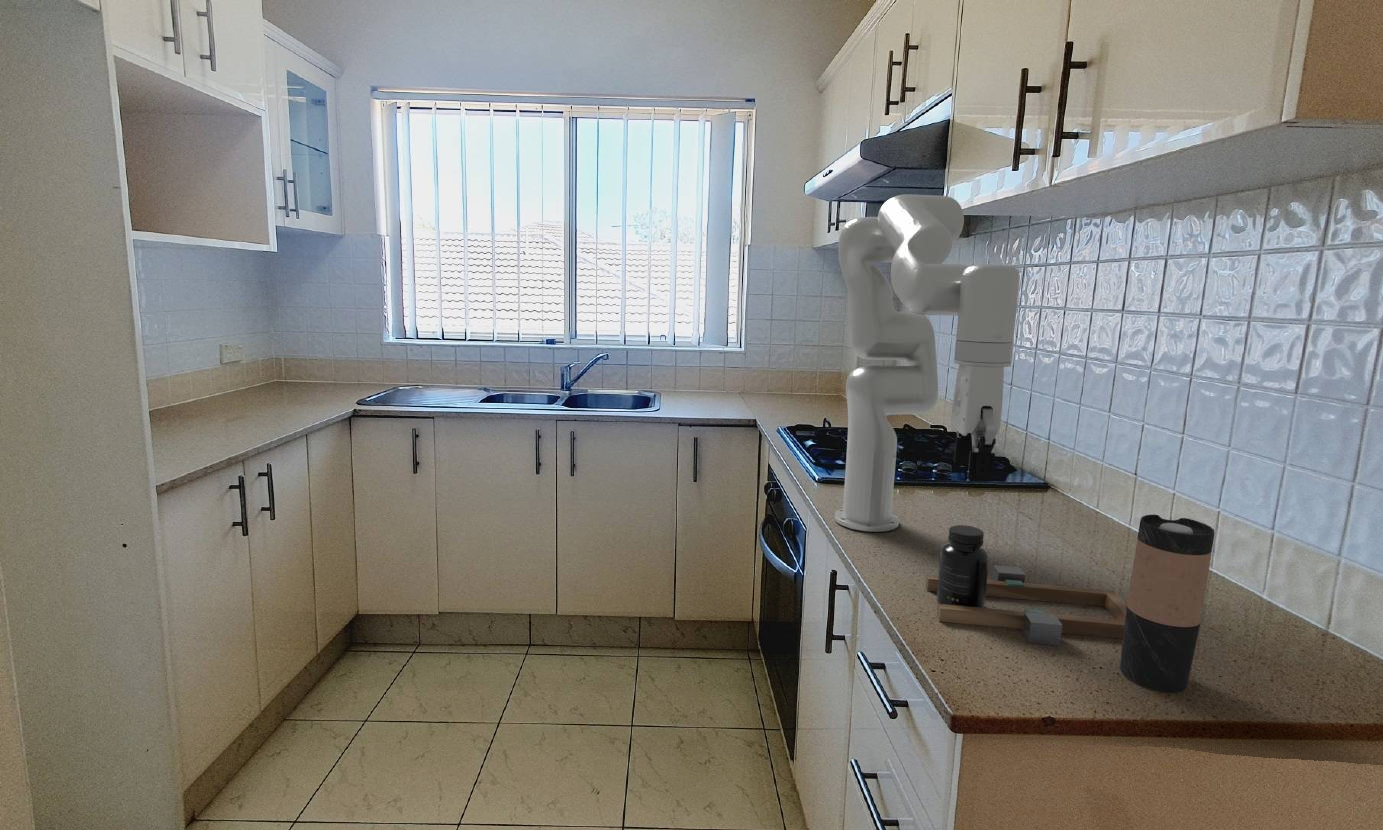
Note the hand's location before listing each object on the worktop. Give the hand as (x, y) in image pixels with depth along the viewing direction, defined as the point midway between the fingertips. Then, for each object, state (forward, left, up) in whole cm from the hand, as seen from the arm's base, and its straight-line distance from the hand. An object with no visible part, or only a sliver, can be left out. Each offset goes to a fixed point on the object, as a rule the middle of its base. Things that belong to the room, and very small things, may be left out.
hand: (972, 471), depth 104 cm
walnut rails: (0, +9, -21) cm, 23 cm away
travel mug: (+16, +20, -21) cm, 33 cm away
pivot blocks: (0, +9, -21) cm, 23 cm away
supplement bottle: (0, 0, -21) cm, 21 cm away
